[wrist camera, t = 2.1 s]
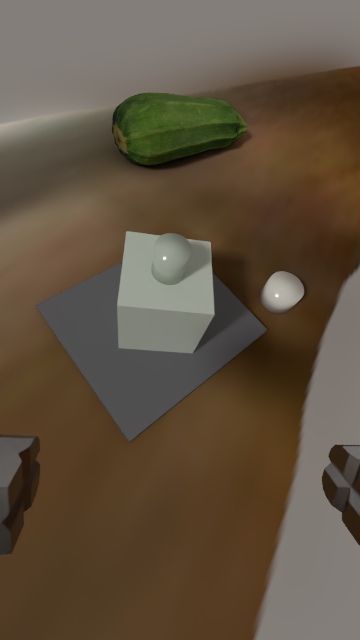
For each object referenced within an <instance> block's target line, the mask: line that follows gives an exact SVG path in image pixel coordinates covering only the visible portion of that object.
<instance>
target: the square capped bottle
mask: <svg viewBox="0 0 360 640" xmlns="http://www.w3.org/2000/svg"><path fill="white" fill-rule="evenodd" d="M214 315H215V313H214V295H213V277H212V259H211V242H205V241H198V240H190V239H186V238H184V237H183V236H181V235H178V234H174V233H168V234H164V235H161V236H159V235H151V234H144V233H136V232H128V231H127V232H126V240H125V247H124V255H123V263H122V271H121V279H120V286H119V294H118V302H117V318H118V346H119V348H123V349H137V350H151V351H165V352H179V353H193V352H194V350H195V348H196V347H197V345H198V343H199V341H200V340H201V338H202V336H203V334H204V332H205V331H206V329H207V327H208V325H209V324H210V322H211V320H212V318H213V316H214Z"/></svg>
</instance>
